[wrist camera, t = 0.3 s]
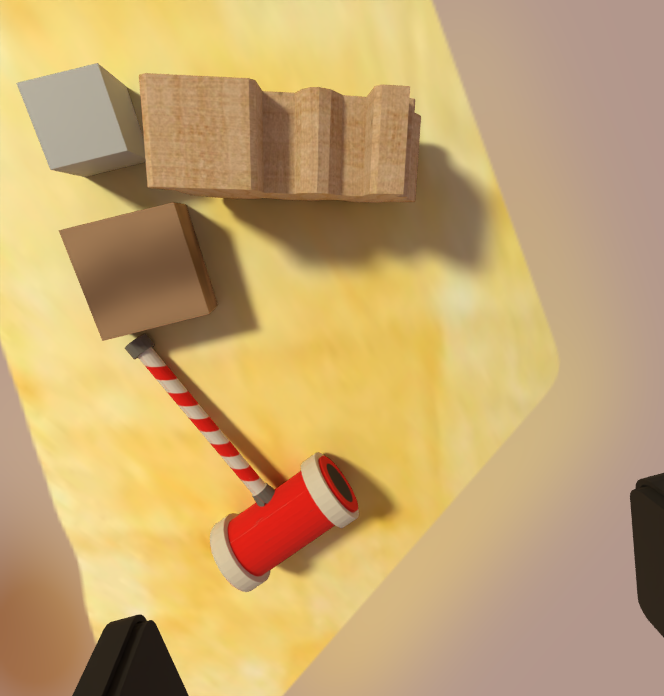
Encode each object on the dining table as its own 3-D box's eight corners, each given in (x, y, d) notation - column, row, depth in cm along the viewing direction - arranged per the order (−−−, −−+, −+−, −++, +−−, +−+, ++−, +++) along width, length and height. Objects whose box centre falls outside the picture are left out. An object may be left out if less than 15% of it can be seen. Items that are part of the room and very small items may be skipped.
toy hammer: (84, 379, 38) (43, 409, 32) (193, 294, 37) (172, 308, 30) (258, 555, 44) (252, 609, 37) (356, 486, 42) (366, 531, 36)
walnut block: (85, 229, 35) (58, 230, 31) (186, 204, 35) (173, 202, 31) (122, 328, 37) (102, 340, 33) (218, 304, 37) (209, 314, 33)
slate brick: (58, 104, 32) (16, 82, 27) (126, 87, 32) (97, 63, 27) (85, 177, 33) (50, 169, 29) (151, 160, 33) (127, 150, 29)
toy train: (405, 203, 36) (446, 195, 26) (184, 196, 34) (141, 186, 25) (410, 126, 34) (455, 88, 25) (180, 116, 33) (132, 71, 23)
